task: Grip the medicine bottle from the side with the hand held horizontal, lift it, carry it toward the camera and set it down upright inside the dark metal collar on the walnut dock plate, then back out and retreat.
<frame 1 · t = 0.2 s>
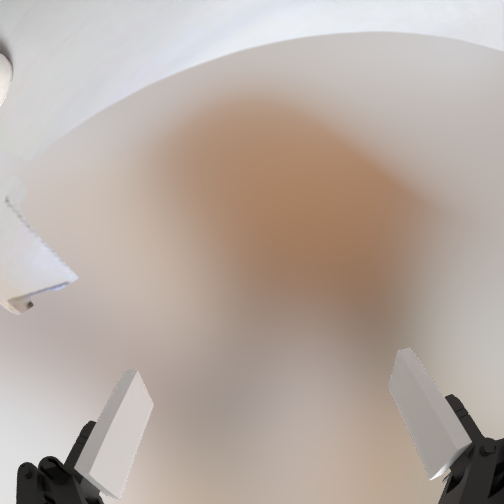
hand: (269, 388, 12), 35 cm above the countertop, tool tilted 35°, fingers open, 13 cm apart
lidded bowl: (0, 74, 20), on the countertop
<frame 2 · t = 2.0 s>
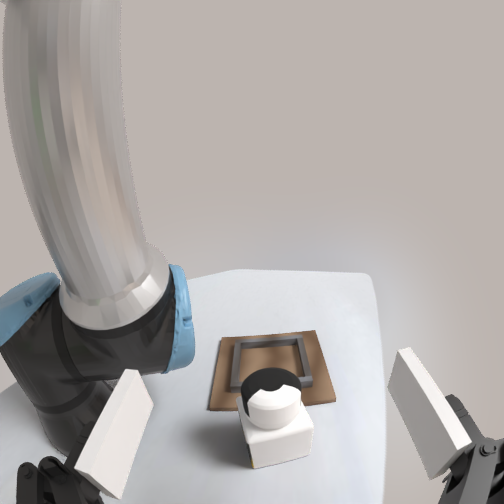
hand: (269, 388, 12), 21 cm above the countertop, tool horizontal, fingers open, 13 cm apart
dock: (270, 368, 42), on the countertop
medicine bottle: (275, 443, 28), on the countertop
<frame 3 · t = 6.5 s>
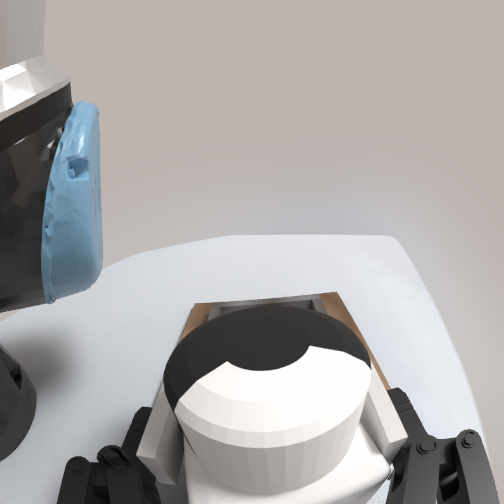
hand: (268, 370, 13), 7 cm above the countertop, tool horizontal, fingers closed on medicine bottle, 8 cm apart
dock: (269, 348, 25), on the countertop
medicine bottle: (277, 492, 11), on the countertop, touching gripper
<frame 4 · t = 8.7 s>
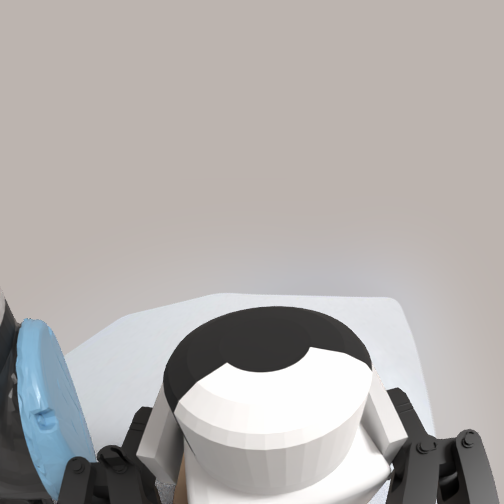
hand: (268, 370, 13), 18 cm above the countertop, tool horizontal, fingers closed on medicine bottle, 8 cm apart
dock: (265, 478, 20), on the countertop
medicine bottle: (277, 493, 11), point 11 cm above the countertop, touching gripper
when the fingers open (9 cm above the countertop, at t = 11.2 s): medicine bottle drops 2 cm, resting on dock.
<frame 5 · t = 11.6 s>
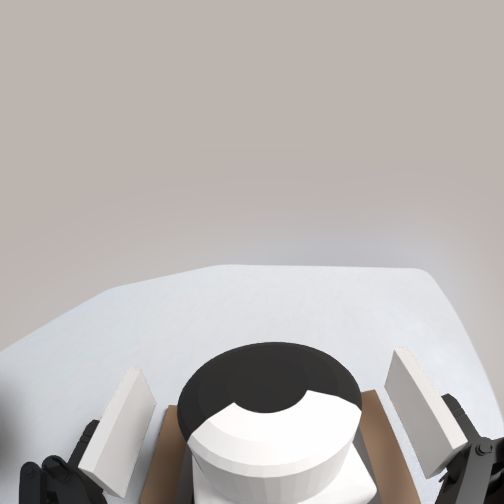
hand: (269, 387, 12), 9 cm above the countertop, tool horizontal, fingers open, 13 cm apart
dock: (277, 502, 11), on the countertop
medicine bottle: (276, 500, 11), point 1 cm above the countertop, touching dock
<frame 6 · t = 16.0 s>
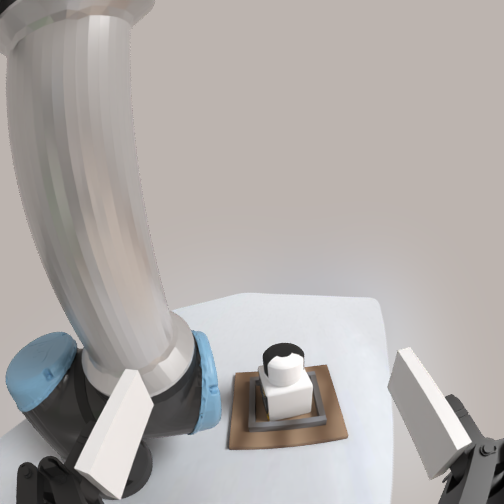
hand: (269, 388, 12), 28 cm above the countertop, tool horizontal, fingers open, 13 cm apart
dock: (285, 405, 41), on the countertop
medicine bottle: (285, 404, 41), point 1 cm above the countertop, touching dock
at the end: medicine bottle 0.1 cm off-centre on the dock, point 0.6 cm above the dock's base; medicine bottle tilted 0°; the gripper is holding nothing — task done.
